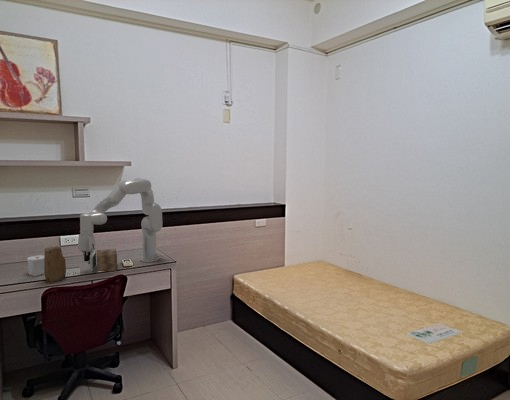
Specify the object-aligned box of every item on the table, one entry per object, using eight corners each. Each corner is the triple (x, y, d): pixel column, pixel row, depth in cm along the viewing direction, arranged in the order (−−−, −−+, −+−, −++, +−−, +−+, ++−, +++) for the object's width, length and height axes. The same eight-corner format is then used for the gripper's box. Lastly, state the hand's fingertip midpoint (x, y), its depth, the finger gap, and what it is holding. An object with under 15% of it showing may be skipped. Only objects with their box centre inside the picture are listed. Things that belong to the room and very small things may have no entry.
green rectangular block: (96, 264, 253) (96, 250, 252) (92, 271, 239) (92, 256, 238) (92, 264, 252) (92, 250, 251) (88, 271, 239) (87, 256, 237)
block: (46, 283, 218) (45, 249, 216) (44, 279, 224) (42, 247, 221) (67, 279, 225) (66, 247, 223) (63, 276, 231) (62, 244, 228)
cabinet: (116, 264, 257) (115, 248, 256) (117, 270, 245) (116, 254, 243) (97, 266, 253) (96, 250, 251) (97, 272, 240) (96, 255, 238)
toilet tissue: (43, 269, 243) (42, 254, 241) (51, 273, 235) (50, 258, 234) (25, 272, 234) (24, 257, 233) (32, 277, 227) (32, 261, 226)
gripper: (73, 232, 237) (73, 260, 239) (91, 235, 231) (91, 264, 233) (82, 230, 244) (83, 257, 246) (100, 233, 238) (100, 261, 240)
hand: (87, 260), depth 239 cm, fingers closed
